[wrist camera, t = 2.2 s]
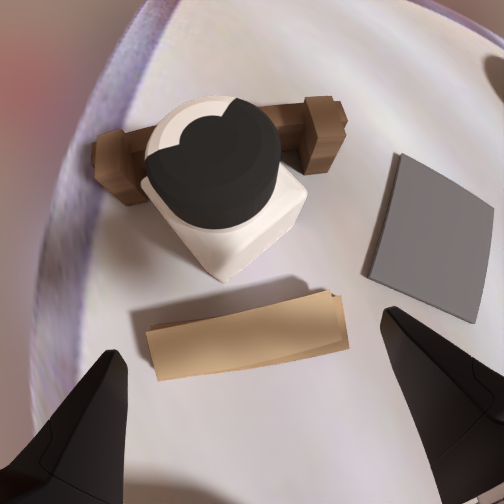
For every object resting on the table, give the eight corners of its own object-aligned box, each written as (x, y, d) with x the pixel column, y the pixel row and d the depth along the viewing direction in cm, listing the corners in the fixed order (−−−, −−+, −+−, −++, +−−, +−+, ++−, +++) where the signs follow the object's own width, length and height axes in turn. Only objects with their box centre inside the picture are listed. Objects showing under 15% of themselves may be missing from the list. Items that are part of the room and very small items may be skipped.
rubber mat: (471, 323, 22) (474, 323, 21) (367, 278, 23) (369, 277, 22) (490, 210, 24) (494, 208, 23) (399, 155, 25) (402, 153, 24)
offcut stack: (344, 346, 22) (354, 350, 19) (164, 375, 21) (154, 382, 19) (335, 288, 23) (344, 286, 20) (154, 318, 22) (143, 319, 20)
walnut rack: (343, 170, 24) (366, 134, 18) (111, 209, 24) (76, 183, 18) (329, 127, 25) (346, 85, 19) (111, 163, 25) (81, 130, 19)
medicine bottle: (294, 225, 24) (331, 149, 12) (223, 285, 23) (191, 261, 11) (236, 162, 25) (224, 57, 13) (167, 216, 24) (101, 141, 12)
